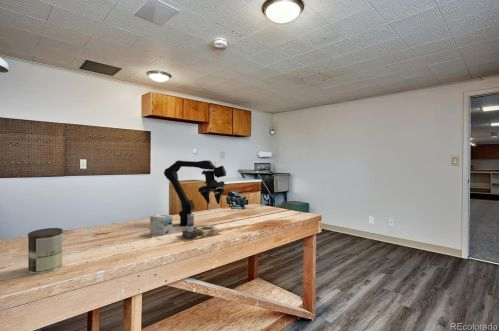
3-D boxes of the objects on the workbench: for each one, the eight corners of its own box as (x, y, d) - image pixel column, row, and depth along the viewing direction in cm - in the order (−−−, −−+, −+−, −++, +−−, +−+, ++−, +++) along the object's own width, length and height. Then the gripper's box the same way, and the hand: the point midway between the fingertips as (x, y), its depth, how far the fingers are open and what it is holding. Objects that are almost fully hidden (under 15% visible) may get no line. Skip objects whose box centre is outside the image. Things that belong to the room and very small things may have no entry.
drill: (186, 238, 133) (186, 215, 133) (187, 236, 136) (187, 213, 136) (193, 237, 133) (193, 215, 133) (194, 236, 137) (194, 213, 136)
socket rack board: (185, 244, 126) (185, 236, 126) (174, 238, 136) (175, 230, 135) (221, 236, 141) (222, 229, 140) (210, 231, 150) (210, 224, 150)
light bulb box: (172, 234, 143) (173, 215, 143) (164, 237, 137) (164, 217, 137) (158, 231, 148) (158, 213, 148) (149, 234, 142) (149, 215, 141)
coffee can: (20, 274, 91) (20, 235, 91) (41, 263, 101) (41, 227, 101) (51, 273, 92) (51, 235, 92) (68, 262, 102) (68, 227, 102)
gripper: (210, 173, 149) (213, 199, 144) (229, 177, 164) (233, 201, 160) (196, 179, 154) (199, 204, 149) (215, 182, 170) (219, 205, 165)
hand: (213, 203), depth 156 cm, fingers open, 9 cm apart
